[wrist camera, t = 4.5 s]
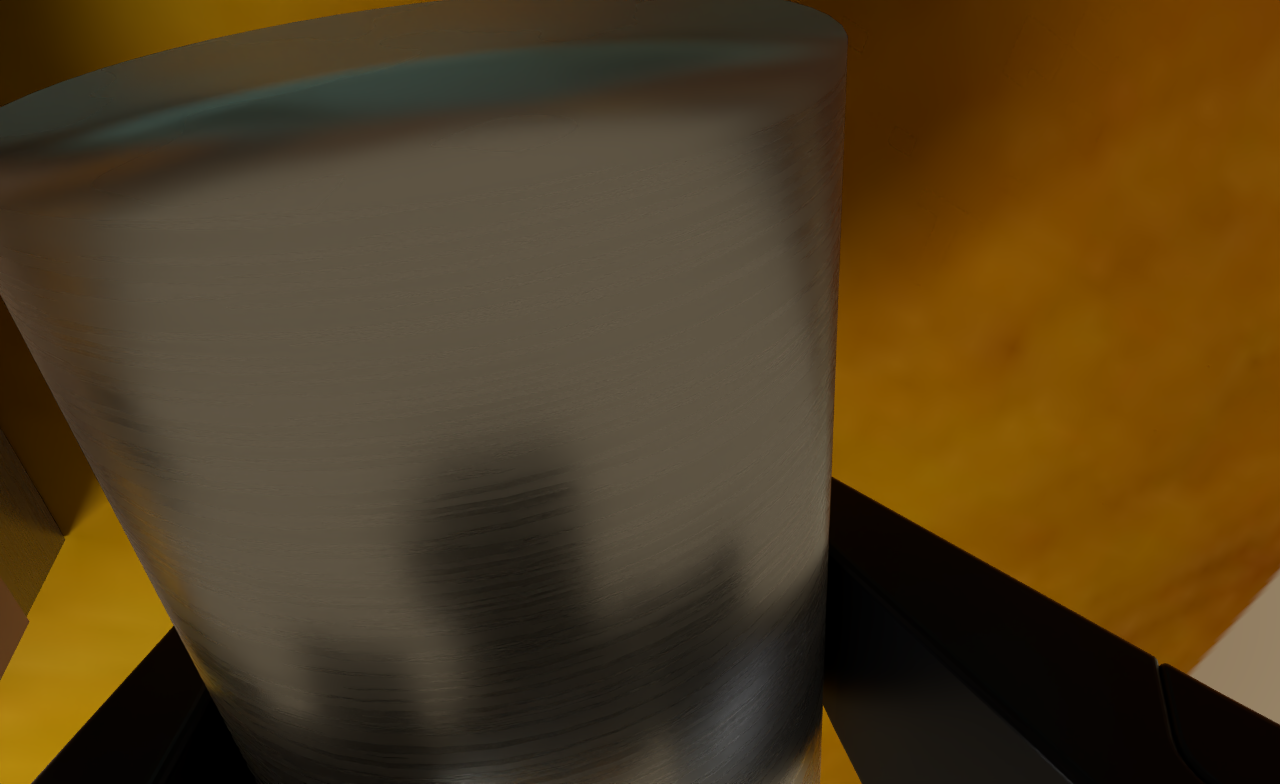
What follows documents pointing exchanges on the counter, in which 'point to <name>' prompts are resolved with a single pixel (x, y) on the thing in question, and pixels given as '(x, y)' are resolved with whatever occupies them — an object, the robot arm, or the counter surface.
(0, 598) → the board
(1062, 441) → the counter surface
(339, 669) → the roller
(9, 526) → the track
